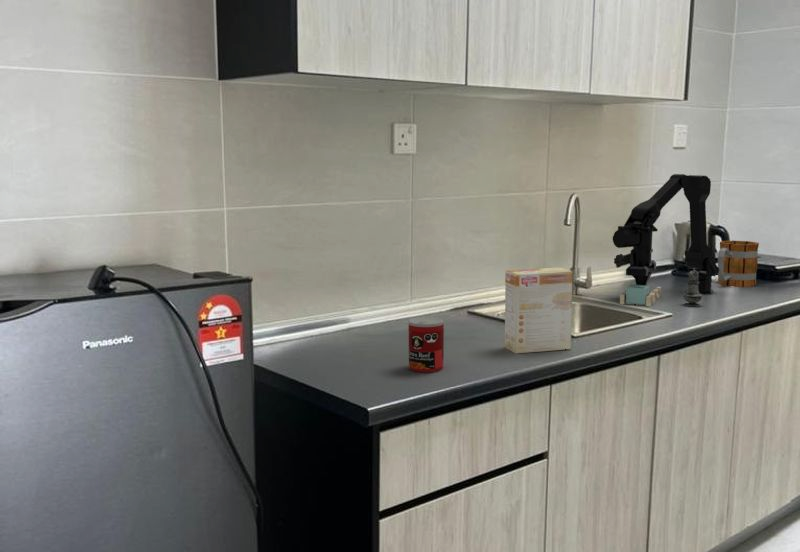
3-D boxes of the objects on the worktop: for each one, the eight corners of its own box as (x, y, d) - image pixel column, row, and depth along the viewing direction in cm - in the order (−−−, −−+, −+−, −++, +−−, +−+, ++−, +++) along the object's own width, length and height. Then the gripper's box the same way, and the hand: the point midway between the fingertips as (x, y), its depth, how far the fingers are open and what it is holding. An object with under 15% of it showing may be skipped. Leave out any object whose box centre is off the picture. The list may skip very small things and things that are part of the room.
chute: (632, 293, 265) (632, 285, 264) (660, 296, 261) (661, 287, 260) (619, 304, 247) (620, 294, 247) (650, 306, 243) (650, 297, 243)
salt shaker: (699, 303, 247) (701, 266, 245) (704, 307, 241) (706, 269, 240) (680, 303, 248) (681, 266, 246) (684, 307, 242) (686, 268, 240)
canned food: (402, 369, 175) (401, 321, 174) (421, 361, 182) (421, 315, 180) (431, 375, 171) (431, 325, 169) (449, 366, 178) (450, 319, 176)
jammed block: (629, 299, 253) (630, 284, 252) (648, 301, 250) (649, 285, 249) (625, 302, 248) (626, 287, 247) (645, 304, 245) (646, 288, 244)
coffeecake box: (558, 343, 199) (560, 266, 196) (571, 349, 192) (574, 270, 189) (503, 347, 195) (504, 269, 192) (514, 354, 188) (516, 273, 185)
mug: (728, 279, 292) (731, 239, 290) (764, 284, 282) (767, 242, 280) (700, 285, 280) (702, 243, 278) (736, 290, 270) (739, 247, 267)
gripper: (622, 241, 262) (620, 287, 265) (610, 247, 246) (608, 296, 248) (657, 243, 257) (655, 290, 260) (647, 249, 241) (644, 299, 243)
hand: (640, 294), depth 253 cm, fingers closed
